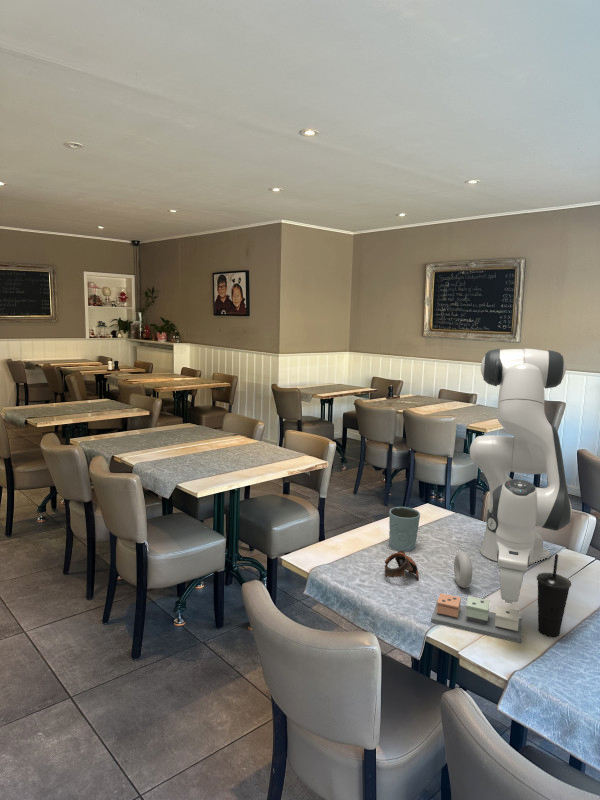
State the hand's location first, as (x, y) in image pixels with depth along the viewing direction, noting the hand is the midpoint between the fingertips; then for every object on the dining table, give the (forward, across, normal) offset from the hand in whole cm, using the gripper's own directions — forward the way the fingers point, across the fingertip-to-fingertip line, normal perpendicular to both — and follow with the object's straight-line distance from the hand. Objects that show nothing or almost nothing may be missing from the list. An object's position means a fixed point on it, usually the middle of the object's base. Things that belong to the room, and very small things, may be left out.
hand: (508, 600), depth 136 cm
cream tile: (+6, +1, 0) cm, 6 cm away
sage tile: (+5, +1, -7) cm, 9 cm away
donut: (+8, -18, -13) cm, 23 cm away
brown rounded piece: (+8, -16, -30) cm, 35 cm away
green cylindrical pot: (+8, -37, -34) cm, 51 cm away
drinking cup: (+7, -2, +10) cm, 12 cm away
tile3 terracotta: (+6, +1, -14) cm, 15 cm away
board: (+7, +1, -7) cm, 10 cm away
